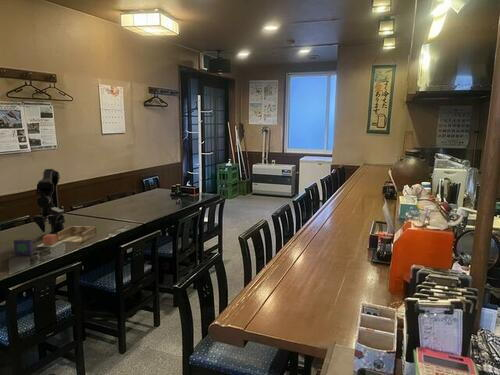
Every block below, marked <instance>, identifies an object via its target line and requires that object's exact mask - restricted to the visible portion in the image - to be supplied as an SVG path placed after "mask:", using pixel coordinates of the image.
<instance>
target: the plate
mask: <svg viewBox="0 0 500 375" xmlns="http://www.w3.org/2000/svg"><path fill="white" fill-rule="evenodd" d="M64 242H65V241H58V240H57V243H56V244H54V245H43V242H42V243H41V244H38V245H37V246H36V247H37V248H38V247H39V248H54V247H56V246H58V245H60V244H62V243H64Z"/></svg>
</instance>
